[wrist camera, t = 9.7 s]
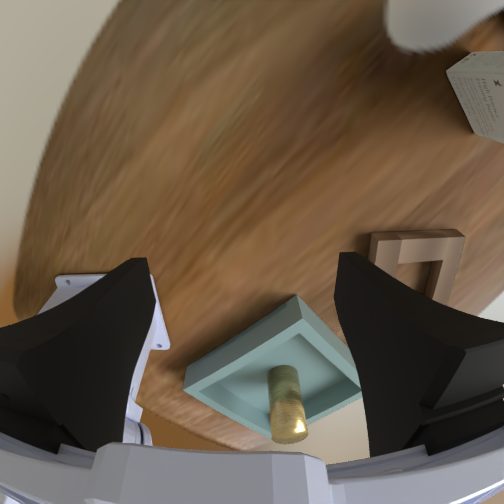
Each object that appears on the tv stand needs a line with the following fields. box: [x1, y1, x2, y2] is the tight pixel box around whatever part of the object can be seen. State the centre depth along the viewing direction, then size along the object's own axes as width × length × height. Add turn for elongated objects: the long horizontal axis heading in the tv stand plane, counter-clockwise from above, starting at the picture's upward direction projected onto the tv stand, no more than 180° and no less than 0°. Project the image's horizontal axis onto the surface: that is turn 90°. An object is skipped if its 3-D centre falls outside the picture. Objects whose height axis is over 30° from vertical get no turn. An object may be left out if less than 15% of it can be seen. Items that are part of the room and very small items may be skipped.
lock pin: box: [267, 365, 308, 444], centre depth 25 cm, size 3×3×7 cm
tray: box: [183, 295, 362, 439], centre depth 27 cm, size 13×13×3 cm
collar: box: [368, 229, 466, 305], centre depth 23 cm, size 8×8×2 cm
